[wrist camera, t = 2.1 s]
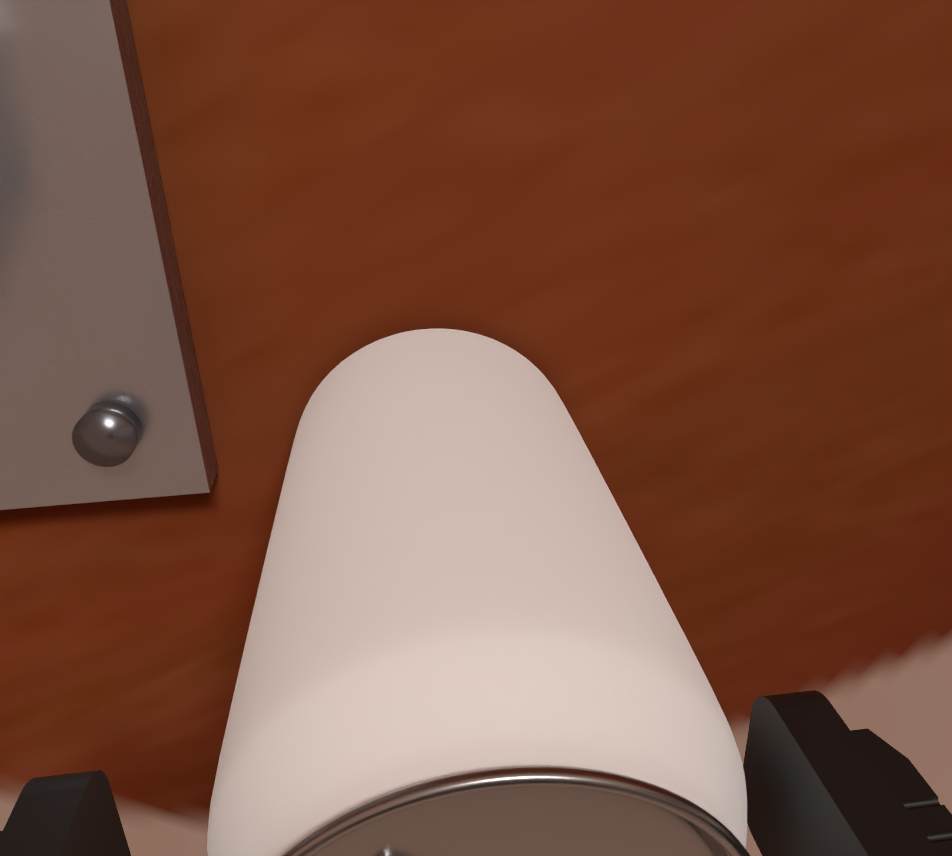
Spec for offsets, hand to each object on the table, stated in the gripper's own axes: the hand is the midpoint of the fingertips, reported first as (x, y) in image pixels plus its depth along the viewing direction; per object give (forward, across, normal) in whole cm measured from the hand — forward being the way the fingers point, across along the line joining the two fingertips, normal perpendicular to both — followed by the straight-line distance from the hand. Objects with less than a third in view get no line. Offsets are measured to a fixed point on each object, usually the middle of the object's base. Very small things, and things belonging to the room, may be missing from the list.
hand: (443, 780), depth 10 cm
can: (+10, -1, 0) cm, 10 cm away
